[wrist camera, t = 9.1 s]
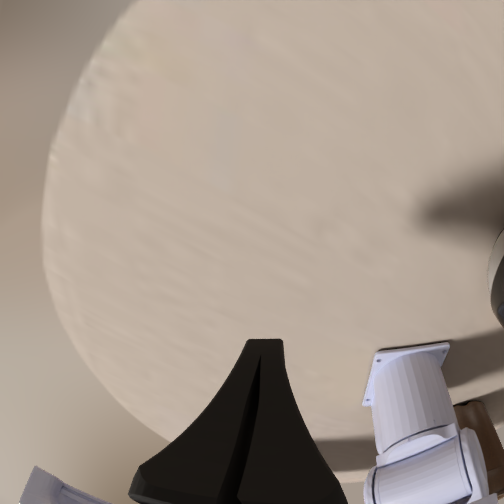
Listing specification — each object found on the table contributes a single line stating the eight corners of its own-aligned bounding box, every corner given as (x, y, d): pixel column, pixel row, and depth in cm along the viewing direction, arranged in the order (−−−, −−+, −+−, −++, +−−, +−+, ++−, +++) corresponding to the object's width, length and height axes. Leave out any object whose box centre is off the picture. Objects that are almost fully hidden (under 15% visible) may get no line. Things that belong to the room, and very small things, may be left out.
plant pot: (509, 398, 30) (534, 480, 16) (437, 448, 38) (448, 523, 24) (466, 381, 27) (498, 495, 14) (379, 440, 35) (385, 537, 22)
